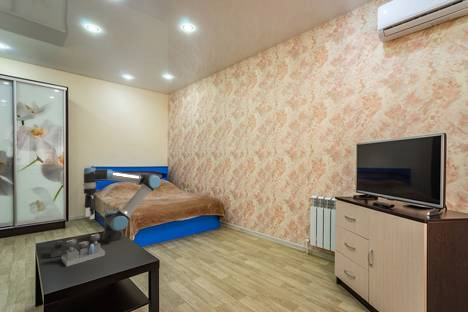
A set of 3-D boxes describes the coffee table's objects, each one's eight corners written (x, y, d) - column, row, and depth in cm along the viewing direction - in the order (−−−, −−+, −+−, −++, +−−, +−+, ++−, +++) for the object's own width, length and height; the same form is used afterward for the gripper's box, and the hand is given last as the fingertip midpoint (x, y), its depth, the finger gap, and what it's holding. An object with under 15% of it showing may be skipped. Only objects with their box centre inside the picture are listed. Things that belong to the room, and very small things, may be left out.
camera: (69, 249, 165) (69, 236, 165) (75, 252, 160) (75, 238, 160) (47, 256, 154) (47, 242, 154) (53, 259, 149) (53, 245, 149)
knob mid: (87, 250, 156) (87, 240, 156) (89, 252, 152) (89, 242, 152) (77, 253, 152) (77, 242, 152) (80, 255, 148) (80, 244, 148)
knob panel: (98, 249, 165) (98, 240, 165) (105, 255, 155) (105, 245, 155) (61, 260, 148) (61, 249, 148) (66, 266, 139) (66, 255, 139)
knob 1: (75, 248, 151) (75, 238, 151) (77, 250, 147) (77, 240, 147) (65, 251, 147) (65, 240, 147) (67, 253, 143) (67, 242, 143)
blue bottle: (93, 252, 153) (93, 243, 153) (94, 253, 151) (94, 244, 152) (89, 253, 151) (89, 244, 151) (90, 254, 150) (90, 245, 150)
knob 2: (98, 242, 161) (98, 232, 161) (101, 244, 157) (101, 234, 158) (89, 245, 157) (89, 234, 157) (92, 247, 153) (92, 236, 153)
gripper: (79, 187, 171) (79, 216, 171) (88, 189, 156) (88, 221, 156) (90, 186, 177) (90, 214, 176) (100, 188, 162) (100, 219, 161)
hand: (89, 217), depth 166 cm, fingers open, 10 cm apart
